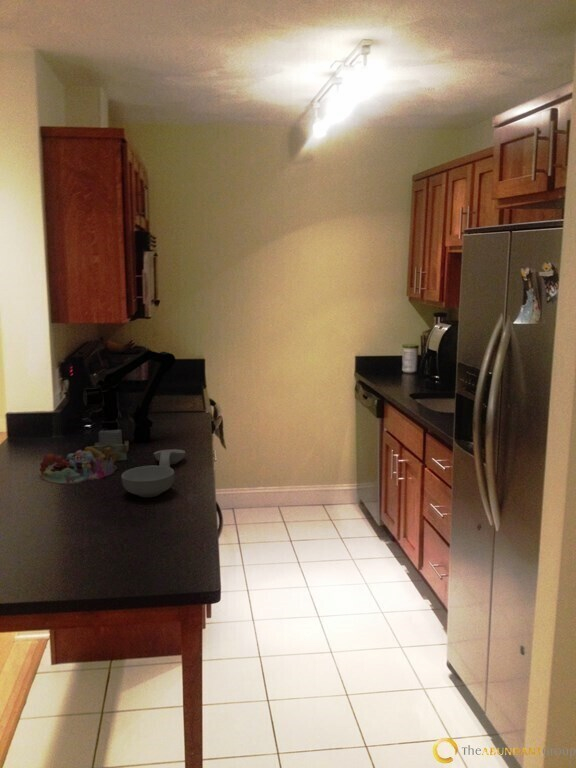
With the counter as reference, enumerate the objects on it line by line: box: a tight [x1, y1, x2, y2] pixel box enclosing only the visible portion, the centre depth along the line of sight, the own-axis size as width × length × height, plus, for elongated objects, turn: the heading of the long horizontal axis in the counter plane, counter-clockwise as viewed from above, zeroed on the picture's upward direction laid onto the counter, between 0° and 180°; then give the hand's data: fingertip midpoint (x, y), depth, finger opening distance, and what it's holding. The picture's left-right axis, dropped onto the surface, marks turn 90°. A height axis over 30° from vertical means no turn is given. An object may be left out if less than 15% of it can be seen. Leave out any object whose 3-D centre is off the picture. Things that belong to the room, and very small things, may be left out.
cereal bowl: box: [121, 464, 175, 498], centre depth 226 cm, size 17×17×7 cm
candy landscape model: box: [39, 445, 118, 485], centre depth 247 cm, size 25×24×9 cm
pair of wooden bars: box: [90, 440, 130, 462], centre depth 269 cm, size 13×18×6 cm
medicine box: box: [98, 428, 123, 446], centre depth 272 cm, size 8×4×9 cm, turn 84°
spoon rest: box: [153, 449, 186, 468], centre depth 254 cm, size 24×12×7 cm, turn 4°
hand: (112, 439), depth 282 cm, fingers closed
